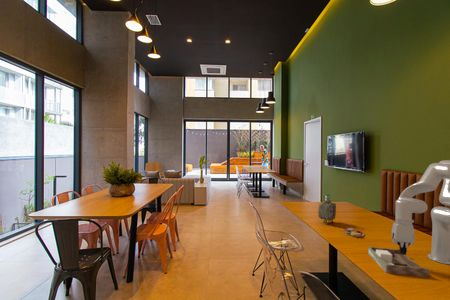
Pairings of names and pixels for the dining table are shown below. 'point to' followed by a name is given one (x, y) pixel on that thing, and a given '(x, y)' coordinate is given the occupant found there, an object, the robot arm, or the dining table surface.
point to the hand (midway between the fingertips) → (403, 253)
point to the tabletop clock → (327, 210)
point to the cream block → (384, 255)
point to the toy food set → (354, 232)
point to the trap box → (398, 263)
